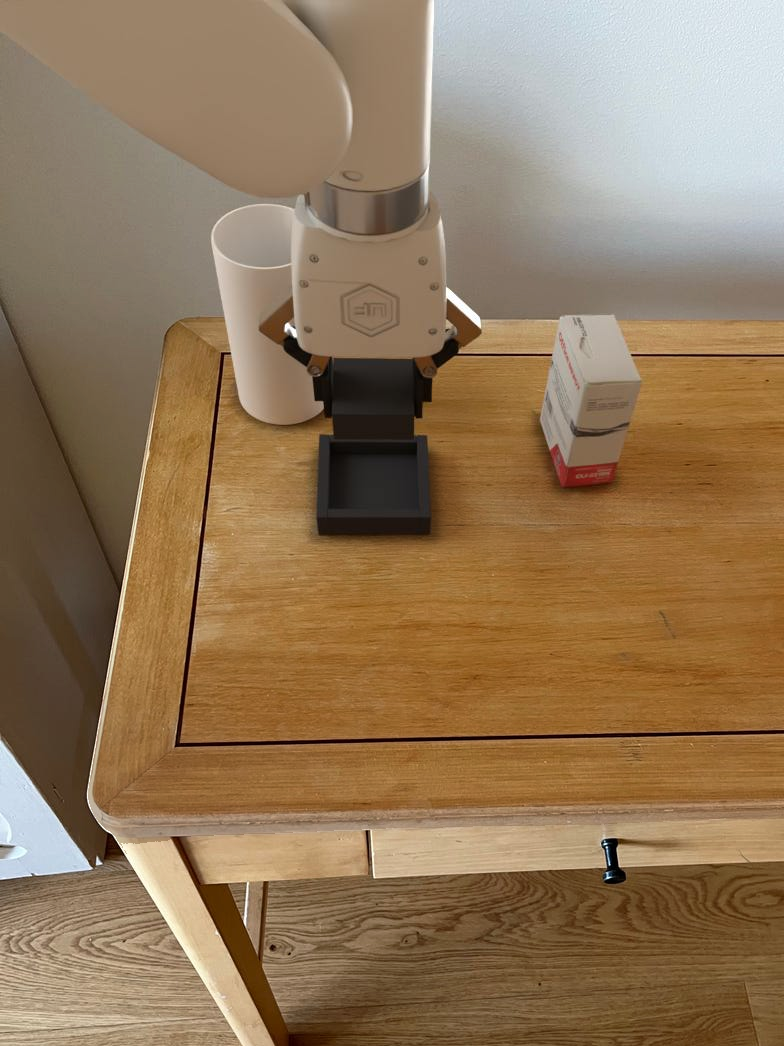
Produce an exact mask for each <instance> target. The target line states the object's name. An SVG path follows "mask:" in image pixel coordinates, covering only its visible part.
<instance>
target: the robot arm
mask: <svg viewBox="0 0 784 1046" xmlns="http://www.w3.org/2000/svg"><path fill="white" fill-rule="evenodd" d="M434 28H435V0H0V33H2V34H3V35H5V36H6V37H7V38H9V39H10V40H11V41H13V42H14V43H16V44H17V45H18V46H19V47H21V48H23V49H24V50H25V51H27V52H28V53H29V54H30V55H32V56H33V57H35V58H36V59H38V60H39V61H40V62H41V63H43V64H44V65H46V67H48V68H49V69H51V70H52V71H53V72H55V73H56V74H57V75H59V76H60V77H61V78H62V79H64V80H65V81H67V82H68V83H69V84H70V85H72V86H73V87H75V88H76V89H77V90H78V91H80V92H81V93H82V94H84V95H85V96H87V97H88V98H89V99H90V100H92V101H94V103H96V104H97V105H99V106H101V108H103V109H104V110H106V111H108V113H110V114H111V115H113V116H114V117H116V118H117V119H119V120H121V121H122V122H123V123H124V124H126V125H128V126H129V127H131V128H132V129H133V130H135V131H137V132H138V133H139V134H141V135H143V136H144V137H146V138H147V139H149V140H150V141H152V142H153V143H156V144H157V145H159V146H161V147H162V148H163V149H165V150H167V151H168V152H170V153H172V154H174V155H176V156H177V157H179V158H180V159H182V160H184V161H186V162H187V163H189V164H191V165H192V166H194V167H195V168H197V169H199V170H200V171H202V172H204V173H206V174H207V175H209V176H211V177H212V178H214V179H216V180H218V181H219V182H221V183H223V184H225V185H226V186H228V187H230V188H232V189H234V190H236V191H238V192H240V193H243V194H246V195H251V196H254V197H258V198H262V199H271V200H281V199H291V198H295V197H297V198H296V202H295V207H294V209H295V210H294V216H293V225H292V237H291V267H292V285H291V286H290V287H289V288H288V289H287V290H286V291H285V292H284V293H282V294H281V295H280V296H279V297H278V298H277V299H276V300H275V301H274V302H273V303H272V304H271V305H269V306H268V307H267V308H266V309H265V310H264V311H263V312H262V313H261V314H260V318H259V331H260V332H261V333H262V334H264V335H265V336H266V337H268V338H269V339H271V340H272V341H273V342H275V343H276V344H278V345H279V344H280V345H281V346H282V347H283V348H284V351H285V352H286V353H287V354H289V355H290V356H291V357H293V358H294V359H296V360H297V361H298V362H300V363H301V364H303V365H304V366H305V367H307V373H308V374H309V375H310V376H312V380H313V390H314V400H315V401H323V405H324V409H323V414H324V419H332V399H333V358H394V359H412V378H413V400H414V418H415V419H417V420H419V419H423V415H424V414H423V413H424V412H423V411H424V409H423V408H424V403H432V401H433V378H435V377H436V376H437V374H438V369H439V368H441V367H442V366H443V365H445V364H446V363H448V362H449V361H450V360H451V359H453V358H454V357H456V356H457V355H459V351H460V349H462V348H465V347H467V346H468V345H469V344H471V343H472V342H473V341H475V340H476V339H478V338H479V337H481V335H482V333H483V330H482V321H481V317H480V316H479V315H478V314H477V313H476V312H475V311H473V310H472V309H471V308H470V307H469V306H468V305H467V304H466V303H465V302H464V301H463V300H462V299H461V298H459V297H458V296H457V295H456V294H455V292H453V291H452V290H451V289H450V288H448V286H447V255H446V254H447V253H446V252H447V251H446V242H445V241H446V240H445V233H444V225H443V220H442V216H441V211H440V208H439V203H438V200H437V198H436V196H435V195H434V193H433V192H432V191H431V190H430V175H431V173H430V172H431V171H430V170H431V141H432V140H431V136H432V135H431V134H432V106H433V105H432V101H433V70H434V69H433V67H434V66H433V64H434ZM293 317H294V320H295V326H290V324H289V323H288V322H289V321H290V320H291V319H292V318H293ZM447 321H448V322H449V323H450V324H451V328H450V327H448V328H447ZM308 327H309V328H308Z"/></svg>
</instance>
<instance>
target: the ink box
mask: <svg viewBox="0 0 784 1046" xmlns="http://www.w3.org/2000/svg"><path fill="white" fill-rule="evenodd" d="M556 329H557V331H556V334H555V339H554V346H553V350H552V354H551V361H550V365H549V371H548V375H547V382H546V387H545V391H544V396H543V401H542V406H541V407H542V408H541V412H540V417H539V422H540V425H541V427H542V431H543V434H544V438H545V440H546V443H547V447H548V450H549V452H550V456H551V459H552V463H553V466H554V469H555V472H556V475H557V478H558V481H559V484H560V487H562V488H568V487H580V486H581V487H582V486H589V485H591V486H593V485H601V484H609V483H613V479H614V476H615V473H616V470H617V466H618V464H619V460H620V457H621V453H622V449H623V446H624V443H625V441H626V438H627V437H626V436H627V433H628V430H629V427H630V424H631V420H632V417H633V414H634V411H635V408H636V404H637V402H638V398H639V394H640V391H641V388H642V384H643V380H642V377H641V375H640V373H639V371H638V369H637V366H636V364H635V361H634V358H633V356H632V354H631V352H630V349H629V346H628V345H627V342H626V340H625V336H624V335H623V332H622V330H621V328H620V325H619V322H618V320H617V318H616V316H615V313H595V314H594V313H587V314H585V313H584V314H562V315H561V316H560V317H559V320H558V324H557V328H556Z"/></svg>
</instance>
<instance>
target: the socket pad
mask: <svg viewBox="0 0 784 1046" xmlns="http://www.w3.org/2000/svg"><path fill="white" fill-rule="evenodd" d="M317 457H318V459H317V461H318V462H317V484H316V485H317V487H316V488H317V489H316V513H315V514H316V515H315V516H316V526H317V535H318V536H429V535H431V532H432V531H431V529H432V528H431V527H432V507H431V506H432V503H431V482H430V464H429V463H430V462H429V444H428V435H427V434H417V435H416V434H414V440H357V439H334V435H333V433H331V434H328V433H326V434H325V433H320V434H319V435H318V456H317Z"/></svg>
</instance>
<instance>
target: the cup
mask: <svg viewBox="0 0 784 1046" xmlns="http://www.w3.org/2000/svg"><path fill="white" fill-rule="evenodd" d="M294 210H295V208H293V207H289V206H286V205H282V204H281V205H280V204H273V203H258V204H250V205H245V206H240V207H238V208H236V209H233V210H231V211H229V212H227V213H225V214H224V215H223V216H222V217H220V218H219V219H218V220H217V221H216V223H215V224H214V225H213V227H212V230H211V233H210V235H211V236H210V241H211V242H210V243H211V248H212V254H213V260H214V266H215V271H216V276H217V282H218V289H219V293H220V294H219V295H220V300H221V305H222V309H223V310H222V311H223V316H224V321H225V327H226V333H227V338H228V344H229V350H230V355H231V360H232V366H233V371H234V377H235V382H236V383H235V384H236V389H237V394H238V399H239V402H240V404H241V406H242V408H243V409H244V411H246V412H247V414H248V415H250V416H251V417H252V418H254V419H256V420H258V421H261V422H263V423H266V424H271V425H276V426H277V425H278V426H279V425H280V426H289V425H297V424H300V423H303V422H306V421H308V420H311V419H313V418H315V417H316V416H318V415H320V413H322V412H323V411H324V405H323V401H315V400H314V390H313V380H312V376H310V375H309V374H308V373H307V367H305V366H304V365H303V364H301V363H300V362H298V361H297V360H296V359H294V358H293V357H291V356H290V355H289V354H287V353H286V352H285V351H284V348H283V347H282V346H281V345H280V344H279V345H278V344H276V343H275V342H273V341H272V340H271V339H269V338H268V337H266V336H265V335H264V334H262V333H261V332H260V331H259V318H260V314H261V313H262V312H263V311H264V310H265V309H266V308H267V307H268V306H269V305H271V304H272V303H273V302H274V301H275V300H276V299H277V298H278V297H279V296H280V295H281V294H282V293H284V292H285V291H286V290H287V289H288V288H289V287H290V286H291V285H292V267H291V237H292V225H293V216H294ZM288 323H289V324H290V326H295V320H294V317H293V318H292V319H291V320H290V321H289V322H288ZM308 328H309V327H308Z"/></svg>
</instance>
